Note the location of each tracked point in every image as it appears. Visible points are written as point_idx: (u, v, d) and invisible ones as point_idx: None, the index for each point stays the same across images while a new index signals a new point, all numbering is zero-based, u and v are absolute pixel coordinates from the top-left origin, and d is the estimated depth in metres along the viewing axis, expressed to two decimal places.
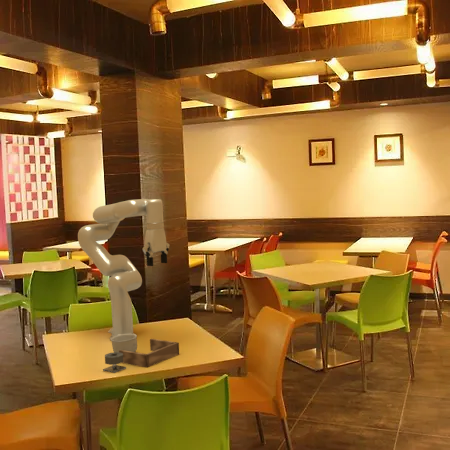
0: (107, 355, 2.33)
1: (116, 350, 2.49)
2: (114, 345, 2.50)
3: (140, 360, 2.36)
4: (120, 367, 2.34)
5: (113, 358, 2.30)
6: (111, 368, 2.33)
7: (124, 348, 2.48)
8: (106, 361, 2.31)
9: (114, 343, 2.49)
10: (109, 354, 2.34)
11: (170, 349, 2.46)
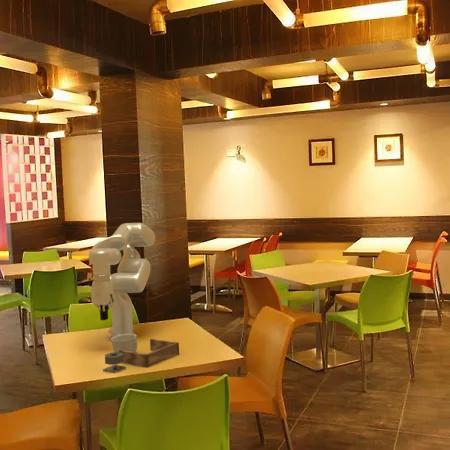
0: (107, 355, 2.33)
1: (116, 350, 2.49)
2: (114, 345, 2.50)
3: (140, 360, 2.36)
4: (120, 367, 2.34)
5: (113, 358, 2.30)
6: (111, 368, 2.33)
7: (124, 348, 2.48)
8: (106, 361, 2.31)
9: (114, 343, 2.49)
10: (109, 354, 2.34)
11: (170, 349, 2.46)
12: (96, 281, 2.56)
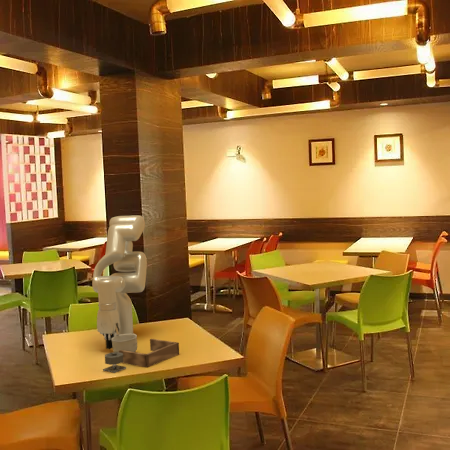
0: (107, 355, 2.33)
1: (116, 350, 2.49)
2: (114, 345, 2.50)
3: (140, 360, 2.36)
4: (120, 367, 2.34)
5: (113, 358, 2.30)
6: (111, 368, 2.33)
7: (124, 348, 2.48)
8: (106, 361, 2.31)
9: (114, 343, 2.49)
10: (109, 354, 2.34)
11: (170, 349, 2.46)
12: (102, 310, 2.56)
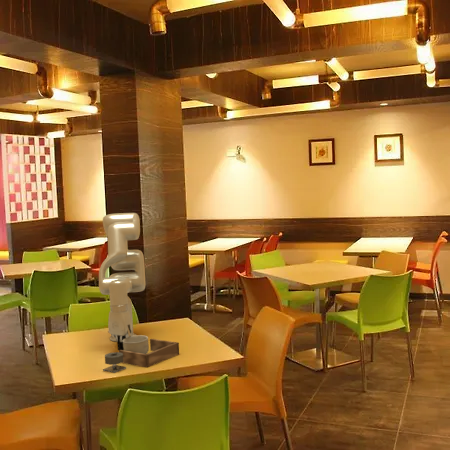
0: (107, 355, 2.33)
1: None
2: (124, 346, 2.47)
3: (140, 360, 2.36)
4: (120, 367, 2.34)
5: (113, 358, 2.30)
6: (111, 368, 2.33)
7: (134, 350, 2.45)
8: (106, 361, 2.31)
9: (124, 344, 2.46)
10: (109, 354, 2.34)
11: (170, 349, 2.46)
12: (113, 311, 2.52)
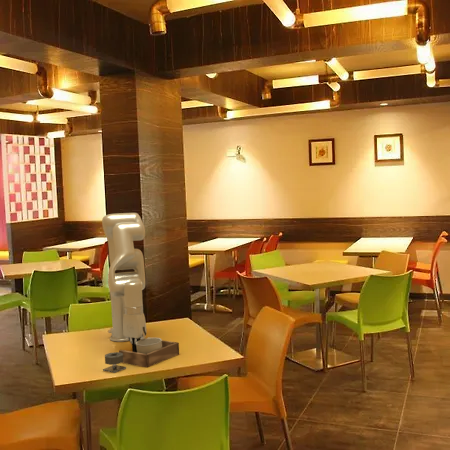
0: (107, 355, 2.33)
1: None
2: (137, 348, 2.43)
3: (140, 360, 2.36)
4: (120, 367, 2.34)
5: (113, 358, 2.30)
6: (111, 368, 2.33)
7: (145, 353, 2.40)
8: (106, 361, 2.31)
9: (137, 346, 2.42)
10: (109, 354, 2.34)
11: (170, 349, 2.46)
12: (128, 314, 2.47)
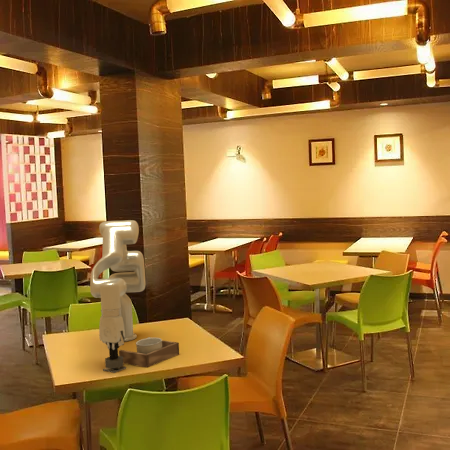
0: (107, 359, 2.33)
1: None
2: (137, 348, 2.43)
3: (140, 360, 2.36)
4: (120, 367, 2.34)
5: (113, 362, 2.30)
6: (111, 368, 2.33)
7: (145, 353, 2.40)
8: (106, 365, 2.31)
9: (137, 346, 2.43)
10: None
11: (170, 349, 2.46)
12: (105, 316, 2.29)
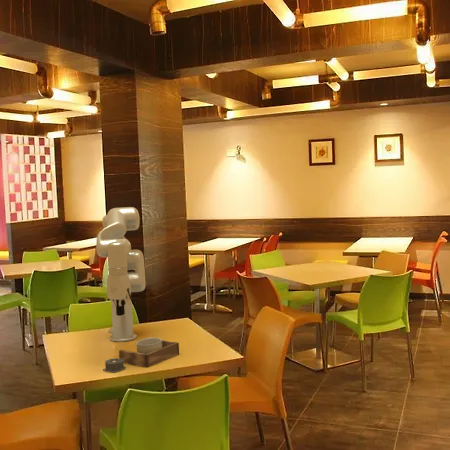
0: (107, 361, 2.33)
1: None
2: (137, 348, 2.43)
3: (140, 360, 2.36)
4: None
5: (113, 364, 2.30)
6: None
7: (145, 353, 2.40)
8: (106, 367, 2.31)
9: (137, 346, 2.43)
10: (110, 360, 2.34)
11: (170, 349, 2.46)
12: (112, 274, 2.40)
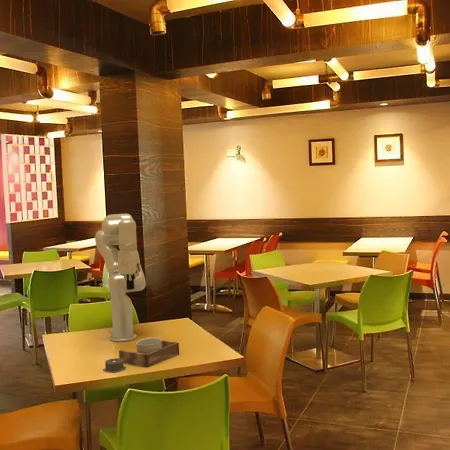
0: (107, 361, 2.33)
1: None
2: (137, 348, 2.43)
3: (140, 360, 2.36)
4: None
5: (113, 364, 2.30)
6: None
7: (145, 353, 2.40)
8: (106, 367, 2.31)
9: (137, 346, 2.43)
10: (110, 360, 2.34)
11: (170, 349, 2.46)
12: (122, 250, 2.55)
